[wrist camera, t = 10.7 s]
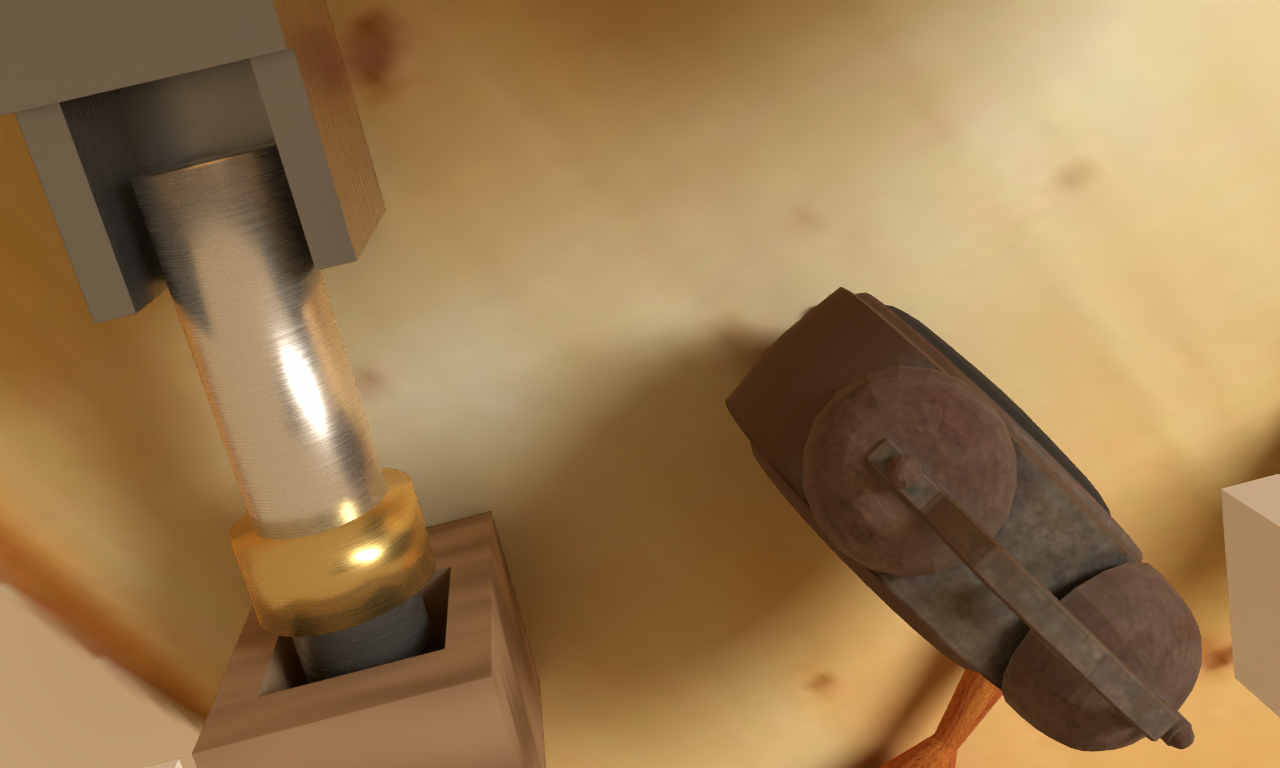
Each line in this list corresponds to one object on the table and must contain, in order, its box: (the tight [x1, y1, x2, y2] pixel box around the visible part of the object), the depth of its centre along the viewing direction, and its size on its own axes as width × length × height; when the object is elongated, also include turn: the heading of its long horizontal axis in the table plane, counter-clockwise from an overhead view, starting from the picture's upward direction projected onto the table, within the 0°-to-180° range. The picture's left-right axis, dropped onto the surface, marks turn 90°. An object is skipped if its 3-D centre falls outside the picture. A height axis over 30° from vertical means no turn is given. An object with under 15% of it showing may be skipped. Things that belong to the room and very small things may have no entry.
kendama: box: [879, 669, 1003, 768], centre depth 51 cm, size 6×6×20 cm
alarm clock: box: [725, 287, 1202, 751], centre depth 39 cm, size 15×7×20 cm, turn 46°
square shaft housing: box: [0, 0, 385, 324], centre depth 37 cm, size 11×8×11 cm
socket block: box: [192, 511, 546, 768], centre depth 43 cm, size 8×9×13 cm
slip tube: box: [131, 142, 438, 684], centre depth 38 cm, size 19×6×6 cm, turn 12°
